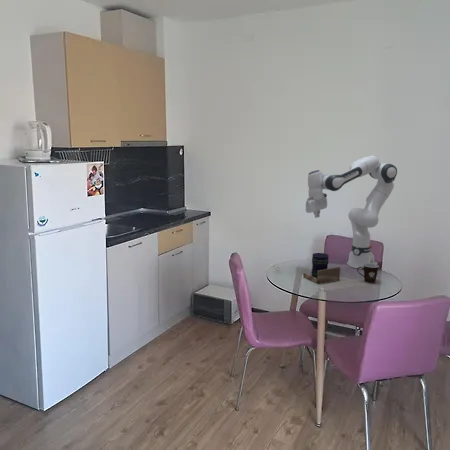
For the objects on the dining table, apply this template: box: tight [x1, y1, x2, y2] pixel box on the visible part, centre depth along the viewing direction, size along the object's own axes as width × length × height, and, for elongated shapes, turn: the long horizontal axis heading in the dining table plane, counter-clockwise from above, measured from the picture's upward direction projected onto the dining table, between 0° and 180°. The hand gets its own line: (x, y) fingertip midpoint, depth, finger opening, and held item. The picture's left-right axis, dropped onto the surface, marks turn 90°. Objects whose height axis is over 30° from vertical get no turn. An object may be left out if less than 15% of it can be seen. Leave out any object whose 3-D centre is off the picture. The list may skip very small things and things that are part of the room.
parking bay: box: [303, 266, 341, 285], centre depth 275 cm, size 14×16×8 cm
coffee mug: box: [356, 264, 380, 284], centre depth 271 cm, size 12×9×10 cm
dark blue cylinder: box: [311, 252, 330, 278], centre depth 275 cm, size 10×10×15 cm
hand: (317, 217), depth 288 cm, fingers closed
